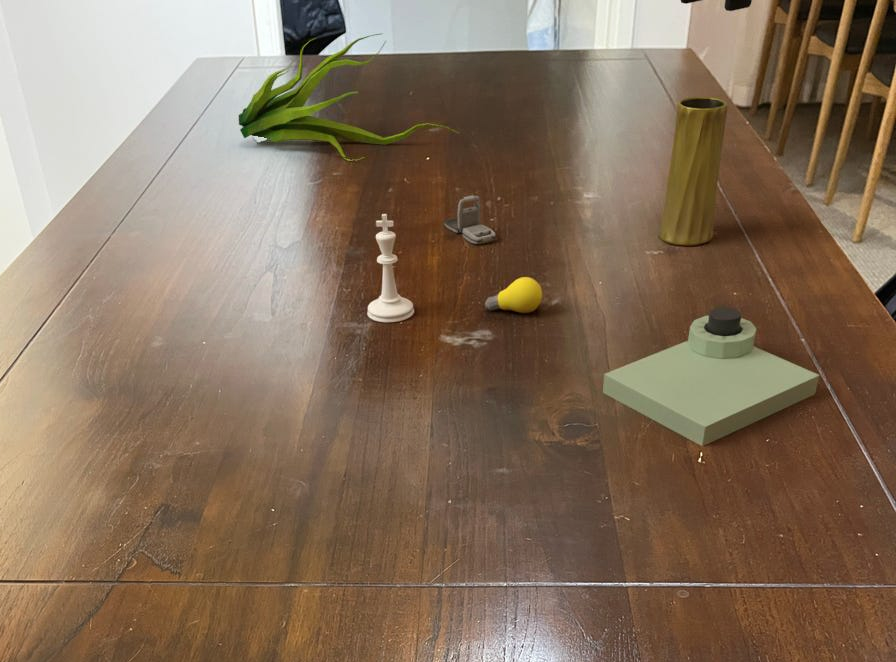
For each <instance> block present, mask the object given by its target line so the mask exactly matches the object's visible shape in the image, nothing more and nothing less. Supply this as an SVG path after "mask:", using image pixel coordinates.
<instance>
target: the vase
mask: <svg viewBox="0 0 896 662" xmlns="http://www.w3.org/2000/svg"><path fill="white" fill-rule="evenodd" d="M676 107H677V108H676V120H675V129H674V136H673V144H672V151H671V157H670V165H669V172H668V177H667V183H666V192H665V198H664V206H663V213H662V217H661V218H662V219H661V224H660V230H659V232H658V236H659V238H660V240H662V241H663V242H665V243H668V244H670V245H674V246H682V247H692V246H693V247H694V246H700V245H703V244H704V245H705V244H707V243H709V242H710V241H711V240H712V239H713V237H714V223H715V222H714V221H715V212H716V204H717V191H718V184H719V183H718V182H719V174H720V167H721V166H720V165H721V159H722V158H721V157H722V148H723V141H724V135H725V128H726V121H727V114H728V107H729V104H728V102H727V101H726V99H723V98H720V97H716V96H706V95H705V96H703V95H702V96H701V95H700V96H698V95H697V96H689V97H685V98H682V99H680V100H679V101H678V102H677V106H676Z"/></svg>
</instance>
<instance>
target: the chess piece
mask: <svg viewBox="0 0 896 662" xmlns="http://www.w3.org/2000/svg"><path fill="white" fill-rule="evenodd" d="M394 225H395V223H394V220H388V214H387V213H382V214H381V220H376V221H375V227H381V228H382V231H379V232H378V233H377V234H376V235H375V240H376V243H377V244H378V247H379V250H380V252H381V254H380V255H378V256H377V257H376V263H378V264H380V265H382V279H381V280H382V281H381V282H382V283H381V295H379V296H378V298H376V299H374V300H373V301H371V302H369V304H368V305H367V312H366V313H367V317H368V318H369V319H370V320H373V321H374V322H379V323H399V322H402V321H405V320H408V319H409V318H411V317H412V316H413V315H414V314H415V308H414V303H413V302H412V301H411V300H410V299H408V298H406V297H402V296H401V294H399V293H398V290H397V284H396V279H395V273H394V266H393V264H395V263H397V262H398V261H399V259H398V256H397V255H396V254H393V250H394V244H395V242H396V237H397V236H396V233H395V232H394V231H390V230H388V229H389V228H390V227H394ZM388 227H389V228H388Z"/></svg>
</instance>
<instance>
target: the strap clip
mask: <svg viewBox="0 0 896 662" xmlns="http://www.w3.org/2000/svg"><path fill="white" fill-rule="evenodd" d="M473 201H476V205H474V206H468V207H464V208H463V204H464V203H469V202H473ZM457 204H458V205H457V210H456V211H457V212H456V213H457V215H456V216H457V217H455V218H451V219H447V220H444V221H443V225H444V226H445V227H446V229H447V230H450V231H452V232H454V233H455V234H462V238H463V239H465V240H466V241H468V242H469V243H471V244H473V245H480V244H485V243H490V242H493V241H495V240H496V238H497V235H496V232H495V231H494V230H493V229H491V228H490V227H488V226H486V225H483V224H480V219H481V211H482V203H481V198H480V197H479V195H474V194H472V195H468V196H464V197H462V198H460V199H459V201H458V203H457Z"/></svg>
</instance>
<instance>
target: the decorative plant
mask: <svg viewBox="0 0 896 662" xmlns="http://www.w3.org/2000/svg"><path fill="white" fill-rule="evenodd" d="M380 35H383V33H375V34H371V35H370V34H369V35H367V36H363V37H360V38H357V39H355V40H353V41H352V42H350V43H349V44H347V46H346V47H344V48H343V49H342V50H339V51H338V52H335V53H334V54H332V55H329V56H327V57H326V58H325V59H324V60H323V61H321V63H319V64H318V65H317V66H316V67H315V68H314V69H312V70H311V71H310V72H309V73H308V75H307V76H306V77H305V78H304V79H303V81H302V82H300V81H301V80H302V77H303V66H304V65H303V63H304V62H303V53H304V50H305V47H306V46H307V45H308V44H309V43H310V42H311V41H314V40H315V39H317V37H314V38H312V39H310V40H308V41H307V43H305V44H304V45H303V46H302V47H301V49H300V52H299V53H300V54H299V64H298V69H297V73H296V75H295V76H294V77H293V78H291V79H290V80H289V81H287V82H286V83H284V84H282V85H280V86H278V87H275V88H273V86H274V84H275V82H276V81H277V79H278V78H279V77H281V76H283V75H285V74H287V73H288V72H289V71H290V70H291V68H290V67H291V66H292V64H293V62H294V60H292V61H291V63H290V64H288V66H287V67H286V68H283V69H281V70H278V71H275V72H274V73H271V74H270V75H269V76H268V77H267V78H266V79H265V80H264V82H263V83H262V85H261V87H260V89H258V91H257V92H256V93H254V94H253V96H252V98H251V100H250V102H249V103H248V106H246V107H244V108H243V109H242V112H241V113H240V114H238V125H239V126H241V128H240V129H239V131H240V133H241V135H242V137H243V139H246V138H248V137H250V136H251V135H252V136H251V137H253V136H258V137H264V138H267V139H269V140H268V141H271V142H274V143H277V142H279V143H283V142H287V141H317V142H328V143H330V144H331V145H332V146H333V147H335V148H336V149H337V151H338V153H339V154H340V156H341V157H342V156H343V157H347V156H346V155H345V153H344V151H343V148H342V146H341V145H340V143H339V142H338V140H337V139H336V138H338V139H342V140H347V141H350V142H351V141H352V142H355V140H357V141H366V142H362V143H364V144H373V145H384V146H386V145H389V144H392V143H395V142H398V141H401V140H404V139H406V138H407V137H408V136H410V135H412V134H413V133H414V132H415V131H417V130H418V129H419V128H424V127H427V126H428V127H437V128H446V129H447V130H450V131H452V132H454V133H456V134H460V132H458V131H457V130H454V129H452V128H450V127H448V126H445V125H441V124H435V123H428V122H426V123H420V124H419V123H418V124H416V125H413V126H412V127H411V128H409V129H407V130H405V131H404V132H401V133H397V134H393V135H390V136H385V137H383V136H380V135H378V134H375V133H373V132H370V131H367V130H365V129H362V128H361V127H358V126H353V125H350V124H345V123H342V122H338V121H333V120H331V119H328V118H327V119H326V118H321V117H318V116H313V115H314V113H317V112H318V111H320V110H322V109H325V108H327V107H328V106H330V105H332V104H334V103H336V102H338V101H340V100H342V99H343V98H345V97H347V96H349V95H355V94H358V93H359V91H349V92H346V93H344V94H342V95H339V96H337V97H334V98H331V99H328V100H326V101H322V102H319V103H316V104H313V105H307V106H305V104H306V103H307V102H308V100H309V98H310V96H311V95H312V94H313V92H314V90H315V89H316V88H317V87H318V85H319V84H320V83H321V81H322V80H323V79H324V78H325V77H326V76H327V74H328V73H329V72H330V71H331V70H332V69H333V68H337V67H341V66H345V65H349V66H359V67H360V66H363V65H366V64H369V63H370V62H371V61H372V60H373V59H374V58H375V57H377V55H378V54H379V53H380V52H381V51H382V49H383V47H384V46H385V44H386V43H387V40H385V41H384V43H383V45H382V46H381V47H380V49H379V51H378V52H376V53H375V54H374V55H373V56H371V58H369V59H368V60H366V61H365V60H364V61H361V62H359V61H356V60H351V59H346V58H345V59H341V60H339V59H340V58H342V57H343V56H345V55H346V54H347V53H348V52H349V50H351V49H352V47H353V46H354V45H355V44H356V43H358V42H359V41H362V40H365V39H367V38H369V37H373V36H380ZM285 71H286V72H285ZM283 72H284V73H283ZM299 82H300V84H299V85H298V86H297V87H296V88H295V89H294V87H295V86H296V85H297V84H298V83H299ZM367 141H369V142H367ZM370 141H371V142H370ZM374 142H380V143H374ZM343 157H342V158H343ZM365 158H366V157H365V156H363V157H360V158H358V159H352V160H350V159H351V158H348V157H347V159H346V158H343V159H344V160H346V161H347V162H357V161H360V160H363V159H365ZM353 160H355V161H353Z"/></svg>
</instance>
